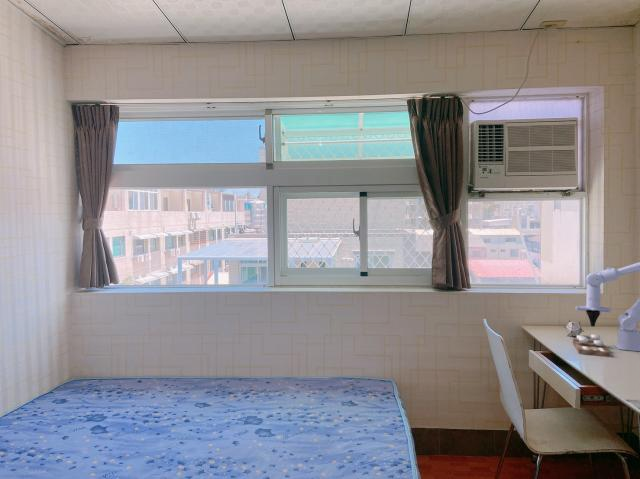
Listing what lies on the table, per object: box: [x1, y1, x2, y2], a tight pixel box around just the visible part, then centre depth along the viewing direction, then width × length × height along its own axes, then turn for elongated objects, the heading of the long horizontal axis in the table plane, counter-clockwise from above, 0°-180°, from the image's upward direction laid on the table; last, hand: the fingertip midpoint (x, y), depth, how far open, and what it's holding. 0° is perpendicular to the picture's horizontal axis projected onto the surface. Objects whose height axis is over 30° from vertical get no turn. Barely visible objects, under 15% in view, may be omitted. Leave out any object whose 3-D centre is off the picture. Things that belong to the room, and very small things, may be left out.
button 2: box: [590, 333, 601, 341], centre depth 210 cm, size 4×4×2 cm
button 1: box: [579, 336, 589, 343], centre depth 206 cm, size 4×4×2 cm
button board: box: [572, 338, 611, 358], centre depth 206 cm, size 12×19×2 cm, turn 157°
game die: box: [564, 320, 585, 337], centre depth 227 cm, size 9×8×10 cm
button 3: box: [594, 340, 604, 346], centre depth 204 cm, size 4×4×2 cm
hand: (592, 325), depth 213 cm, fingers closed
